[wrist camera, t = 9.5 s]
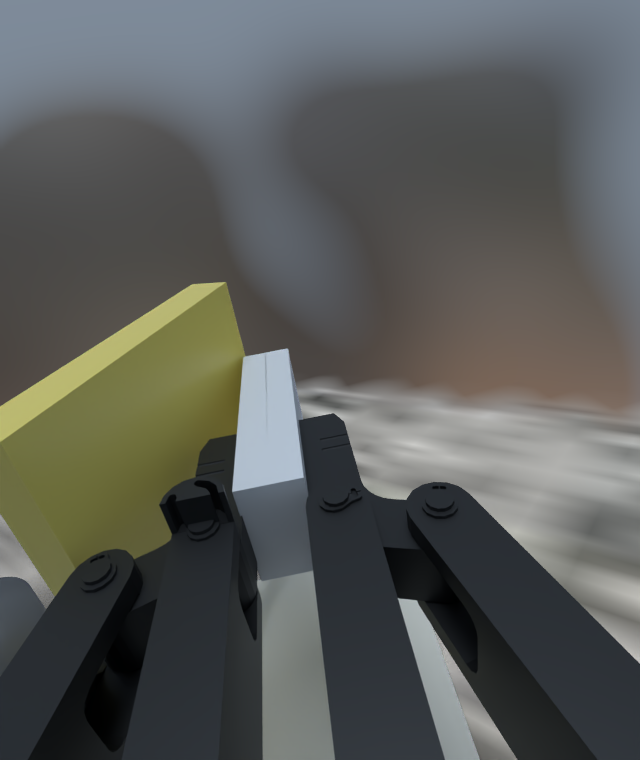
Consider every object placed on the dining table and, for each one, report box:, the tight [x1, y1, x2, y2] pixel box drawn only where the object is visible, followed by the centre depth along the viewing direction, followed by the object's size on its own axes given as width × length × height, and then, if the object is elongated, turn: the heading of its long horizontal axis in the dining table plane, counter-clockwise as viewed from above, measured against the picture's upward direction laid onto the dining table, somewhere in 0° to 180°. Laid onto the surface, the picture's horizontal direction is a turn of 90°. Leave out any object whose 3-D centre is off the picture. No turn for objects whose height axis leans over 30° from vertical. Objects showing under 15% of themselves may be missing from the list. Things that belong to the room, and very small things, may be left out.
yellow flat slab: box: [0, 282, 245, 596], centre depth 11 cm, size 14×5×12 cm, turn 162°
